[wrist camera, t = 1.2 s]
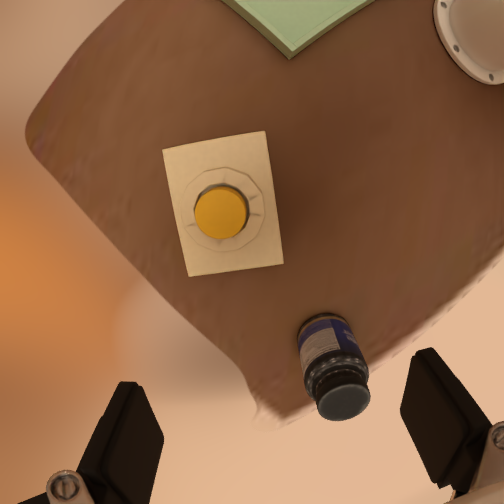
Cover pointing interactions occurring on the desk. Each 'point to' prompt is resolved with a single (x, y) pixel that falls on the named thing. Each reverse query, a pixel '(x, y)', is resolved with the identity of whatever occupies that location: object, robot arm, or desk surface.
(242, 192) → the box
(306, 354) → the pill bottle
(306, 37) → the tray
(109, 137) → the desk surface
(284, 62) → the desk surface
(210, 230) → the button
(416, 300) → the desk surface
